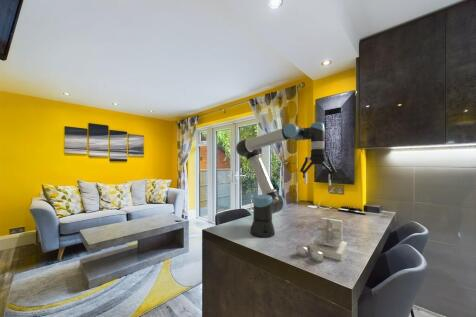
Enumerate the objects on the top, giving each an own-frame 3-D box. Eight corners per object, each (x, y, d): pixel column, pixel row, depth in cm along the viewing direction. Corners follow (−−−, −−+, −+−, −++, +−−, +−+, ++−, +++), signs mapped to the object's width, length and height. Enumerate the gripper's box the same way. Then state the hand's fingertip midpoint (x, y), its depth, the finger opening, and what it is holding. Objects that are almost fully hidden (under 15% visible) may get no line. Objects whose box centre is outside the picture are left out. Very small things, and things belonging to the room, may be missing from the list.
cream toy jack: (342, 244, 95) (342, 222, 95) (319, 242, 97) (319, 221, 97) (336, 236, 105) (336, 217, 105) (316, 235, 107) (316, 216, 107)
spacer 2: (310, 260, 90) (310, 251, 90) (313, 256, 94) (313, 248, 94) (321, 264, 87) (321, 254, 87) (324, 259, 91) (324, 250, 91)
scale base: (309, 252, 99) (310, 223, 99) (319, 241, 113) (319, 216, 114) (341, 260, 90) (341, 229, 91) (347, 247, 105) (347, 220, 105)
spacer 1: (295, 255, 95) (295, 247, 95) (299, 252, 99) (299, 243, 99) (306, 258, 92) (306, 249, 92) (309, 254, 96) (309, 246, 96)
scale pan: (314, 242, 99) (314, 240, 99) (319, 235, 108) (319, 234, 108) (338, 247, 93) (338, 245, 93) (342, 240, 102) (342, 238, 102)
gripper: (294, 149, 123) (294, 183, 123) (339, 147, 109) (339, 186, 108) (298, 150, 130) (298, 182, 129) (341, 148, 115) (341, 185, 114)
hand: (317, 184), depth 119 cm, fingers open, 13 cm apart
